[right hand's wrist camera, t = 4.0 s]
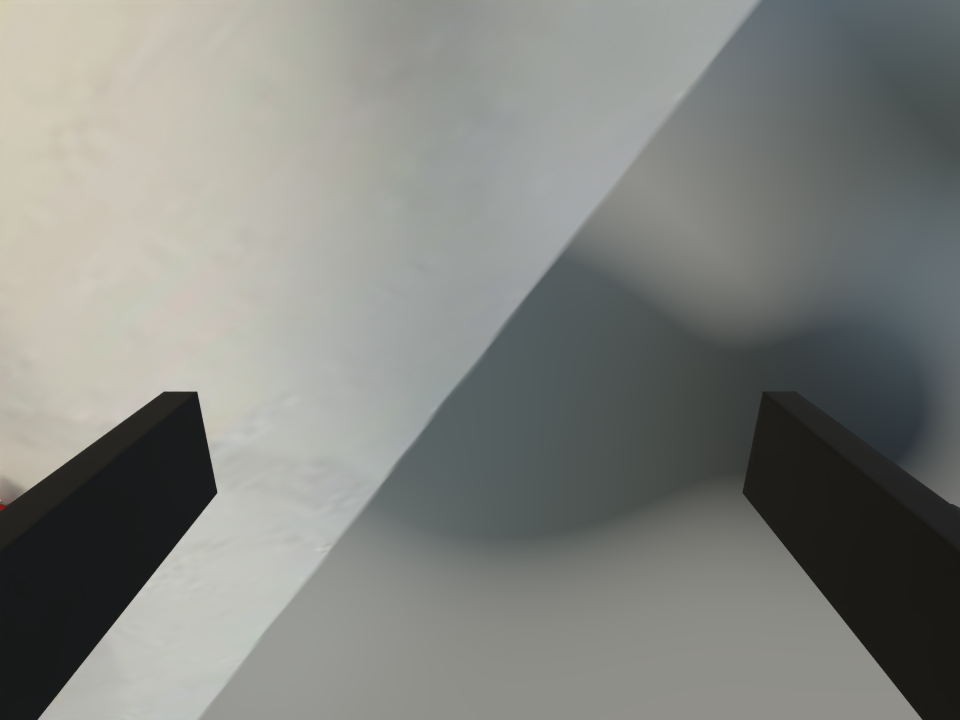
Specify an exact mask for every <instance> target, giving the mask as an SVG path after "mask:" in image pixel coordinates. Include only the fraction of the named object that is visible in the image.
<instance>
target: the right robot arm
mask: <svg viewBox="0 0 960 720" xmlns="http://www.w3.org/2000/svg"><path fill="white" fill-rule="evenodd" d="M216 494H217V488H216V483H215V478H214V473H213V468H212V463H211V458H210V453H209V448H208V443H207V438H206V433H205V428H204V423H203V418H202V413H201V408H200V403H199V398H198V393H197V392H163V393H162V394H160V395H159V396H157V397H156V398H155V399H153V400H152V401H151V402H149V403H148V404H146V405H145V406H144V407H142V408H141V409H140V410H138V411H137V412H136V413H134V414H133V415H131V416H130V417H129V418H127V419H126V420H125V421H123V422H122V423H120V424H119V425H118V426H116V427H115V428H114V429H112V430H111V431H109V432H108V433H107V434H105V435H104V436H103V437H101V438H100V439H98V440H97V441H96V442H94V443H93V444H92V445H90V446H89V447H87V448H86V449H85V450H83V451H82V452H81V453H79V454H78V455H76V456H75V457H74V458H72V459H71V460H70V461H68V462H67V463H65V464H64V465H63V466H61V467H60V468H59V469H57V470H56V471H54V472H53V473H52V474H50V475H49V476H48V477H46V478H45V479H43V480H42V481H41V482H39V483H38V484H37V485H35V486H34V487H32V488H31V489H30V490H28V491H27V492H26V493H24V494H23V495H22V496H20V497H19V498H17V499H16V500H15V501H13V502H12V503H11V504H9V505H8V506H6V507H5V508H3V509H1V510H0V720H38V718H39V717H40V716H41V715H42V713H43V712H44V711H45V710H46V708H47V707H48V706H49V705H50V703H51V702H52V701H53V700H54V698H55V697H56V696H57V694H58V693H59V692H60V691H61V689H62V688H63V687H64V686H65V684H66V683H67V682H68V681H69V679H70V678H71V677H72V676H73V674H74V673H75V672H76V671H77V669H78V668H79V667H80V665H81V664H82V663H83V662H84V660H85V659H86V658H87V657H88V655H89V654H90V653H91V652H92V650H93V649H94V648H95V647H96V645H97V644H98V643H99V642H100V640H101V639H102V638H103V636H104V635H105V634H106V633H107V631H108V630H109V629H110V628H111V626H112V625H113V624H114V623H115V621H116V620H117V619H118V618H119V616H120V615H121V614H122V613H123V611H124V610H125V609H126V607H127V606H128V605H129V604H130V602H131V601H132V600H133V599H134V597H135V596H136V595H137V594H138V592H139V591H140V590H141V589H142V587H143V586H144V585H145V584H146V582H147V581H148V580H149V578H150V577H151V576H152V575H153V573H154V572H155V571H156V570H157V568H158V567H159V566H160V565H161V563H162V562H163V561H164V560H165V558H166V557H167V556H168V555H169V553H170V552H171V551H172V549H173V548H174V547H175V546H176V544H177V543H178V542H179V541H180V539H181V538H182V537H183V536H184V534H185V533H186V532H187V531H188V529H189V528H190V527H191V525H192V524H193V523H194V522H195V520H196V519H197V518H198V517H199V515H200V514H201V513H202V512H203V510H204V509H205V508H206V507H207V505H208V504H209V503H210V502H211V500H212V499H213V498H214V496H215V495H216ZM743 494H744V495H745V496H746V498H747V499H748V500H749V502H750V503H751V504H752V505H753V507H754V508H755V509H756V510H757V512H758V513H759V514H760V515H761V517H762V518H763V519H764V520H765V522H766V523H767V524H768V525H769V527H770V528H771V529H772V531H773V532H774V533H775V534H776V536H777V537H778V538H779V539H780V541H781V542H782V543H783V544H784V546H785V547H786V548H787V549H788V551H789V552H790V553H791V554H792V556H793V557H794V558H795V560H796V561H797V562H798V563H799V565H800V566H801V567H802V568H803V570H804V571H805V572H806V573H807V575H808V576H809V577H810V578H811V580H812V581H813V582H814V584H815V585H816V586H817V587H818V589H819V590H820V591H821V592H822V594H823V595H824V596H825V597H826V599H827V600H828V601H829V602H830V604H831V605H832V606H833V607H834V609H835V610H836V611H837V612H838V614H839V615H840V616H841V618H842V619H843V620H844V621H845V623H846V624H847V625H848V626H849V628H850V629H851V630H852V631H853V633H854V634H855V635H856V636H857V638H858V639H859V640H860V641H861V643H862V644H863V645H864V647H865V648H866V649H867V650H868V652H869V653H870V654H871V655H872V657H873V658H874V659H875V660H876V662H877V663H878V664H879V665H880V667H881V668H882V669H883V671H884V672H885V673H886V674H887V676H888V677H889V678H890V679H891V681H892V682H893V683H894V684H895V686H896V687H897V688H898V689H899V691H900V692H901V693H902V694H903V696H904V697H905V698H906V700H907V701H908V702H909V703H910V705H911V706H912V707H913V708H914V710H915V711H916V712H917V713H918V715H919V716H920V717H921V718H922V720H960V508H959V507H957V506H955V505H953V504H949V503H948V502H947V501H945V500H944V499H943V498H941V497H940V496H938V495H937V494H936V493H934V492H933V491H932V490H930V489H929V488H927V487H926V486H925V485H923V484H922V483H921V482H919V481H918V480H916V479H915V478H914V477H912V476H911V475H910V474H908V473H907V472H905V471H904V470H903V469H901V468H900V467H899V466H897V465H896V464H895V463H893V462H892V461H890V460H889V459H888V458H886V457H885V456H884V455H882V454H881V453H879V452H878V451H877V450H875V449H874V448H872V447H871V446H870V445H868V444H867V443H866V442H864V441H863V440H862V439H860V438H859V437H857V436H856V435H855V434H853V433H852V432H851V431H849V430H848V429H846V428H845V427H844V426H842V425H841V424H840V423H838V422H837V421H835V420H834V419H833V418H831V417H830V416H829V415H827V414H826V413H824V412H823V411H822V410H820V409H819V408H818V407H816V406H815V405H813V404H812V403H811V402H809V401H808V400H807V399H805V398H804V397H802V396H801V395H800V394H798V393H797V392H763V393H762V399H761V404H760V408H759V413H758V419H757V424H756V428H755V433H754V438H753V443H752V448H751V453H750V459H749V463H748V468H747V473H746V478H745V483H744V488H743Z"/></svg>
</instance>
